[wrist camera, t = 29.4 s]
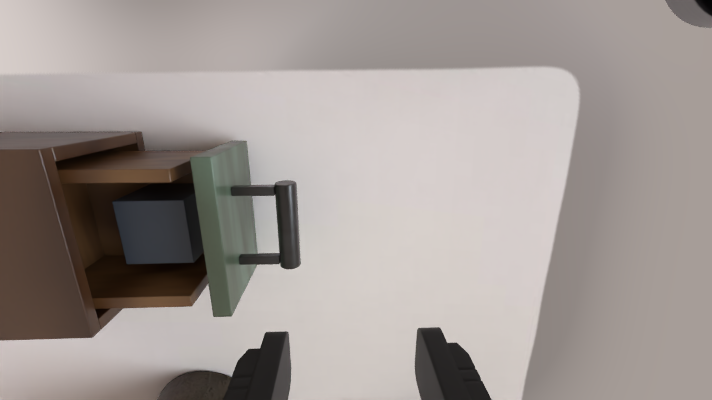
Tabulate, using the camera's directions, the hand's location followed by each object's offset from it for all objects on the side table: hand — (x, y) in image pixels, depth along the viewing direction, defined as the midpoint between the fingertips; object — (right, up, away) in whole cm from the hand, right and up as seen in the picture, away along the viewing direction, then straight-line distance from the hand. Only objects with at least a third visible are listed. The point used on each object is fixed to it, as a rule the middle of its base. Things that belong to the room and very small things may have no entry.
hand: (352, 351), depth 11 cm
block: (-13, +4, +14) cm, 20 cm away
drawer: (-12, +5, +15) cm, 20 cm away
